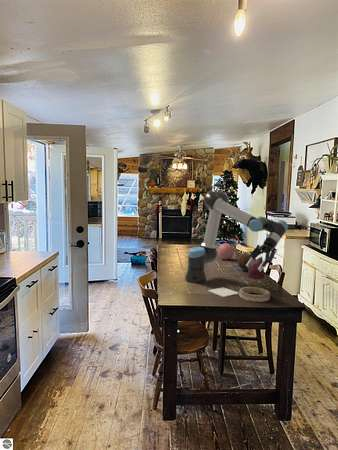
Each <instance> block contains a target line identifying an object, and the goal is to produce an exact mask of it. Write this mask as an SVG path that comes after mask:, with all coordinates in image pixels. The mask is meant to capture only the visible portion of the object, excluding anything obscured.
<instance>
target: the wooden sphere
mask: <svg viewBox="0 0 338 450" xmlns="http://www.w3.org/2000/svg"><path fill="white" fill-rule="evenodd" d="M249 254H250V252H243V253H241V254H240V255H239V256H238V258H237V264H238V267H239V268H240V269H241V270H243V271H245V272H248V270H249V268H250V267H249V268H247V266H246V264H247V263H248V260H249V259H250V257H249ZM255 260H257V257H256V258H255V259H254V261H255ZM254 261H253V262H254Z"/></svg>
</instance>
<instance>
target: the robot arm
mask: <svg viewBox="0 0 338 450" xmlns="http://www.w3.org/2000/svg"><path fill="white" fill-rule="evenodd" d="M229 202H230V199H229V196H228V195H227V193H226V192H224V191H221V190H220V191H217V190H215V191H214V190H213V191H212V190H210V191H208V192H206V193H205V195H204V196H203V203H204V205H205V206H206V207H207V208H208V210H209V214H208V219H207V223H206V227H205V228H206V229H205V232H204V233H205V234H204V239H203V242H201V243H200V246H193V247H190V248H189V250H188V253H187V254H188V258H187V259H188V260H187V262H188V263H187V269H186V270H187V271H186V275H185V276H184V280H185V281H186V282H188V283H192V284H193V283H195V284H201V283H206V281H207V276H206V271H205V264H210V263H212V262H214V261H216V259H217V258H218V250H217V245H216V241H217V236H218V233H219V232H218V231H219V226H220V221H221V217H222V214H223V215H225V216H227V217H229V218H230V219H232V220H234V221H237V222H238V223H240V224H242V225H244V226H245V227H248V228H249V230H250V231H251V232H253V233H259V232H262V231H266V232H269V233H268V235H267V237H266V238H265V239H264V241H263V244H262V245H260V244H257V245H256V247H255V248H254V249H253V250H252V251H251V253H250V252H249V253H250V254H249V257H250V259H249V260H248V263H247V264H246V266H247V268H249V267H250V265H251V264H252V263H253V261H254V259H255V258H256V259H257V257H259V256H261V255H262V254H265V257H264V259H263V261H262V263H261V265H260V266H259V268H258V270H259V271H260V272H261V270H262V269H263V268H265V267H266V266H267V265H268V264H272V262H273V259H274V257H275V255H276V253H277V252H278V251H277V249H276V247H277V245H278V244H279V242H280V241H281V239H282V238H283V236H284V235H285V233H287V230H288V228H289V224H288V223H287V222H286V221H285V220H281V219H280V220H278V221H274V220H272V219H269V218H267V217H265V216H264V217H263V216H262V215H261V216H258V217H255V216H254V215H252V214H249V213H248V212H246V211H244V210H242V209H240V208H238V207H236V206H234V205H232V204H230V203H229Z"/></svg>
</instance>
